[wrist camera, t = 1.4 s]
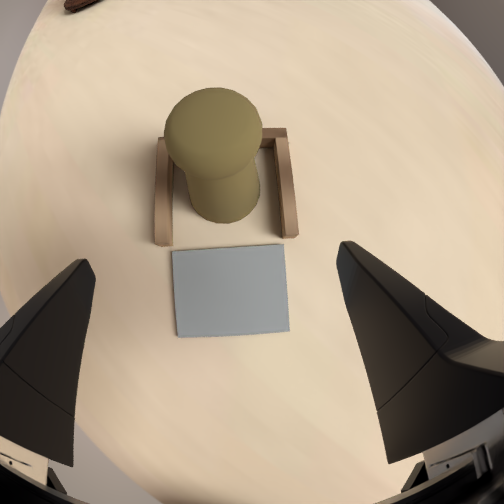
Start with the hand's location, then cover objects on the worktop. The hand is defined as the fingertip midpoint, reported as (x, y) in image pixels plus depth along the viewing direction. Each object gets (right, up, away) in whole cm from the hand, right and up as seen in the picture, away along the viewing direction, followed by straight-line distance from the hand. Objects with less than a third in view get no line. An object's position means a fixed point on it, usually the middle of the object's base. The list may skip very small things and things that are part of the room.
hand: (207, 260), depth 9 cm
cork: (-1, +6, +14) cm, 15 cm away
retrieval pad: (0, -3, +13) cm, 13 cm away
